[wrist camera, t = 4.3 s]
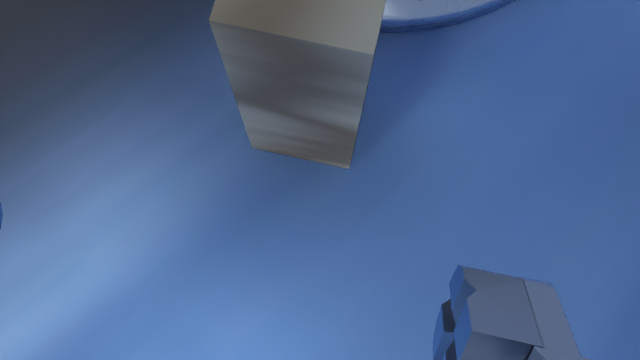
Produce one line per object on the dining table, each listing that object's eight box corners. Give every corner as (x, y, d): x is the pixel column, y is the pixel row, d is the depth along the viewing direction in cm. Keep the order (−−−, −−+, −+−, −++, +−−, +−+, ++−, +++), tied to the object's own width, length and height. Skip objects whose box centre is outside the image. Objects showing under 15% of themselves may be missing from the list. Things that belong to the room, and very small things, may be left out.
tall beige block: (365, 97, 22) (398, -58, 13) (349, 169, 21) (373, 54, 12) (271, 77, 22) (244, -88, 13) (251, 147, 21) (208, 20, 13)
